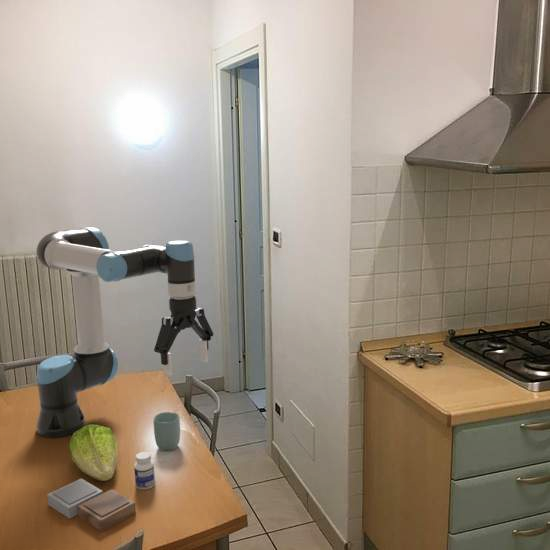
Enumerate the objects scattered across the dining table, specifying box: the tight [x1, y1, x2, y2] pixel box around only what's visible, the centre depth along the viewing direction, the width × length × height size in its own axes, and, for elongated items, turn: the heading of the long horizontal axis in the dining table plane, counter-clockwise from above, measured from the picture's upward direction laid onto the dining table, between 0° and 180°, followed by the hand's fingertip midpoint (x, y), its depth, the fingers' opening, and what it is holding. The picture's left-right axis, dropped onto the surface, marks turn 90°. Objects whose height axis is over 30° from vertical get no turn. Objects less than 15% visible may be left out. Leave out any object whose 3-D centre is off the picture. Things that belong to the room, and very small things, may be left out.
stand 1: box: [46, 478, 104, 519], centre depth 164 cm, size 10×10×3 cm
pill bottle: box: [133, 451, 156, 490], centre depth 171 cm, size 5×5×9 cm
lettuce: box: [68, 423, 119, 481], centre depth 181 cm, size 12×24×13 cm
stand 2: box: [78, 489, 137, 533], centre depth 158 cm, size 10×10×3 cm
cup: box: [152, 411, 181, 452], centre depth 192 cm, size 8×8×10 cm
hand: (186, 368), depth 181 cm, fingers open, 13 cm apart
